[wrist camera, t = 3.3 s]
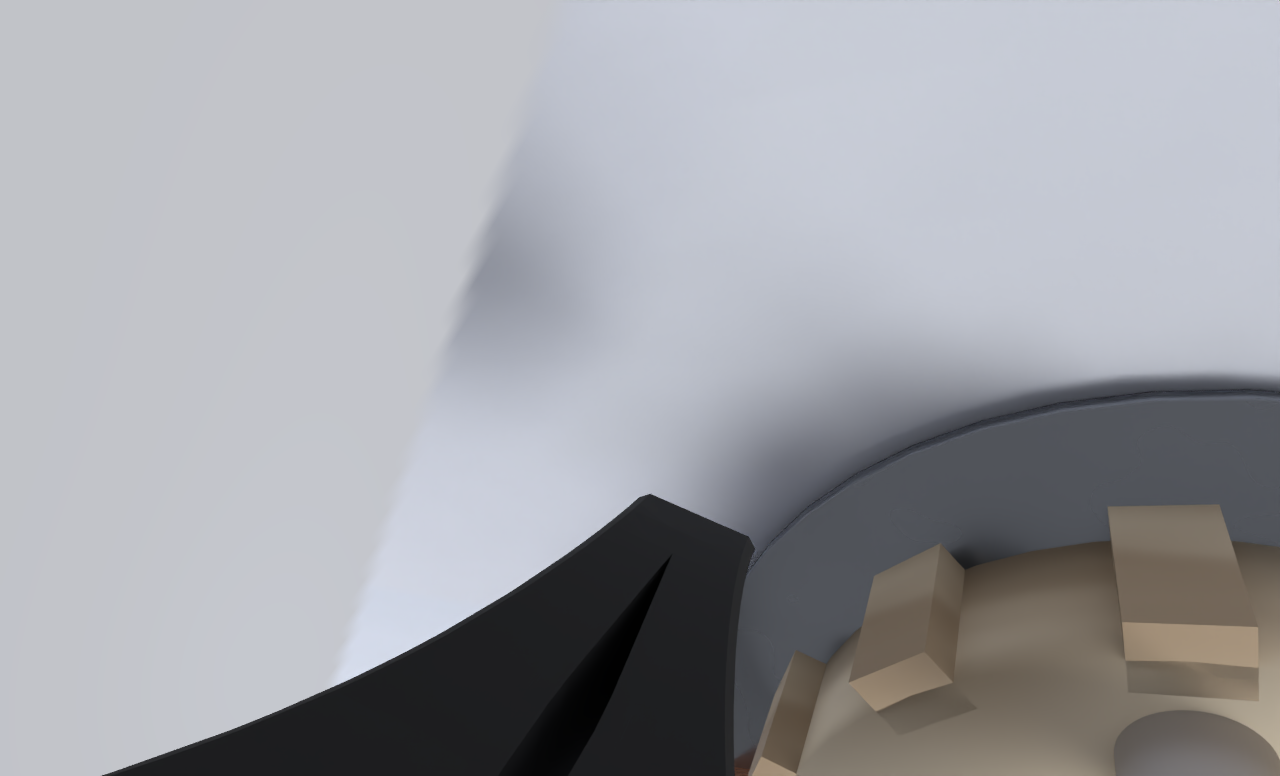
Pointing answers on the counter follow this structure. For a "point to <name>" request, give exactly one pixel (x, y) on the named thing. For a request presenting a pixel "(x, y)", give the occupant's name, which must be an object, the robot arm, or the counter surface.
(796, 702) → the sprocket
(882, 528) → the base plate
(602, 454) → the counter surface
